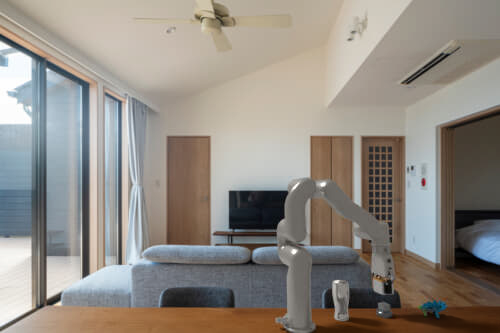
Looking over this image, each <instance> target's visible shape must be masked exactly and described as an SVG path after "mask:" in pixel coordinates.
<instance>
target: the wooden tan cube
mask: <svg viewBox="0 0 500 333" xmlns="http://www.w3.org/2000/svg"><path fill="white" fill-rule="evenodd" d="M388 280H389V278H387V281H388ZM372 285H373V291H374V292H375V293H377V294H380V295H381V296H385V295H388V294H385V280H384V277H382V276H380V277H374V276H372ZM391 295H395V289H394V283H393V284H392V294H391Z"/></svg>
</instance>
